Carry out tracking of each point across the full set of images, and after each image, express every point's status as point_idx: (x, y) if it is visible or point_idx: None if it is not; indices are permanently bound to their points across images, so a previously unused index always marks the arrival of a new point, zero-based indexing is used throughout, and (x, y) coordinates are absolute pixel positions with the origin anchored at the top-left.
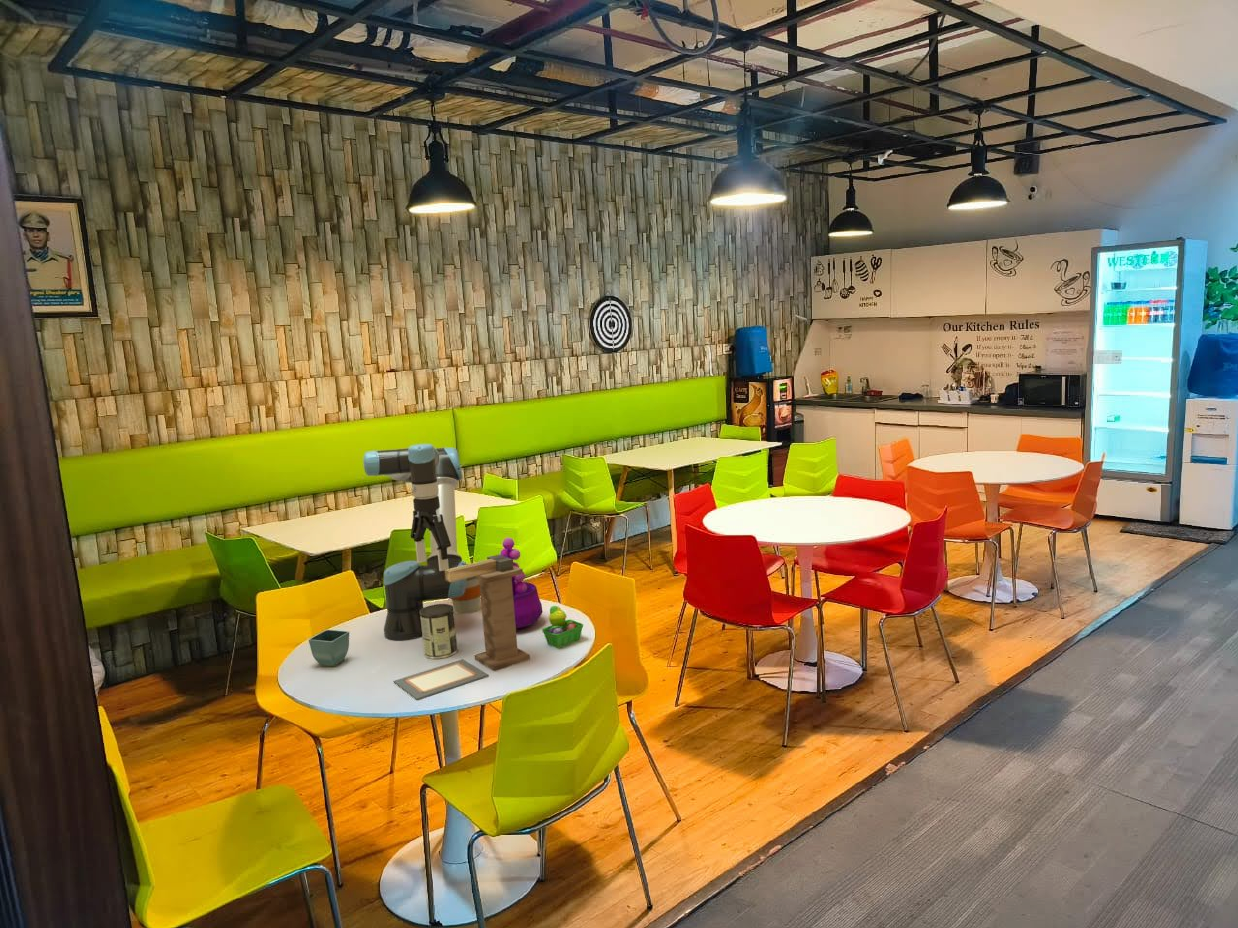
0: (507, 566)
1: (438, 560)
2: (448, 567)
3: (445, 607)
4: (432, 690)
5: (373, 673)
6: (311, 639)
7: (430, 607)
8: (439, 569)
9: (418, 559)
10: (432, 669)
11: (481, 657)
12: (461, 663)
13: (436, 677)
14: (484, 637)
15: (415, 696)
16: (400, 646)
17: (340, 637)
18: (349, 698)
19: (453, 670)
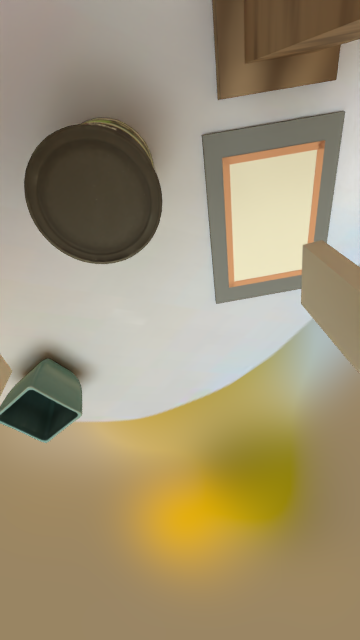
0: None
1: (340, 349)
2: (327, 245)
3: (86, 160)
4: None
5: (148, 323)
6: (41, 437)
7: (50, 214)
8: (307, 307)
9: (1, 387)
10: (214, 225)
11: (253, 87)
12: (228, 150)
13: (264, 230)
14: (265, 56)
15: None
16: (10, 251)
17: (59, 400)
18: (227, 364)
19: (256, 185)
